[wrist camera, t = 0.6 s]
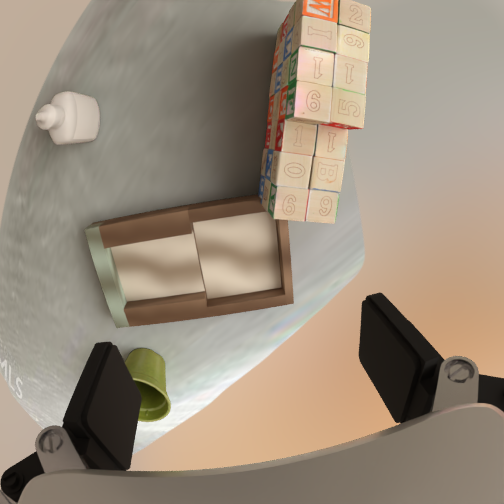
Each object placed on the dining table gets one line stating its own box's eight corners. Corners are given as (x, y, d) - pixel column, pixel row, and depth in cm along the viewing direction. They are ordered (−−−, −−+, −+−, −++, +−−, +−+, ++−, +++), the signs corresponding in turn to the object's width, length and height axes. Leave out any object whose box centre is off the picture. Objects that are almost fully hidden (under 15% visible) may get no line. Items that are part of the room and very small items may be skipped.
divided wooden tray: (93, 222, 35) (84, 229, 32) (280, 191, 37) (285, 196, 34) (121, 316, 40) (116, 327, 38) (288, 292, 42) (293, 303, 39)
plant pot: (128, 383, 45) (118, 421, 37) (110, 340, 42) (95, 378, 34) (180, 381, 46) (177, 421, 38) (167, 337, 42) (160, 377, 34)
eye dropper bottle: (112, 104, 30) (68, 93, 19) (93, 146, 32) (44, 154, 21) (84, 93, 29) (34, 81, 18) (66, 134, 31) (12, 138, 20)
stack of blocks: (307, 204, 37) (347, 235, 25) (256, 199, 36) (276, 229, 24) (326, 39, 29) (372, 5, 18) (276, 29, 29) (304, -15, 17)
